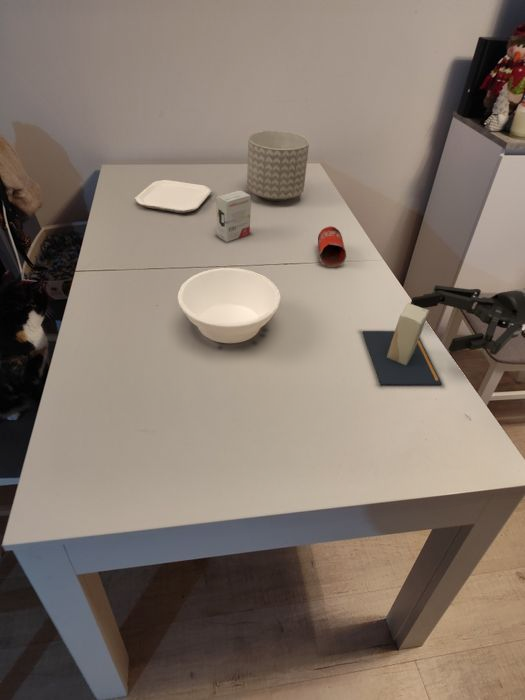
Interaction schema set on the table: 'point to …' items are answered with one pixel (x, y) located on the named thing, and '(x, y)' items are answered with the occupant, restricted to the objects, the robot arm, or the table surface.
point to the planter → (277, 164)
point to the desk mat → (395, 372)
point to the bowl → (229, 303)
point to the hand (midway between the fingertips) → (430, 323)
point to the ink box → (233, 215)
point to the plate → (173, 196)
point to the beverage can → (331, 247)
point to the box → (407, 333)
